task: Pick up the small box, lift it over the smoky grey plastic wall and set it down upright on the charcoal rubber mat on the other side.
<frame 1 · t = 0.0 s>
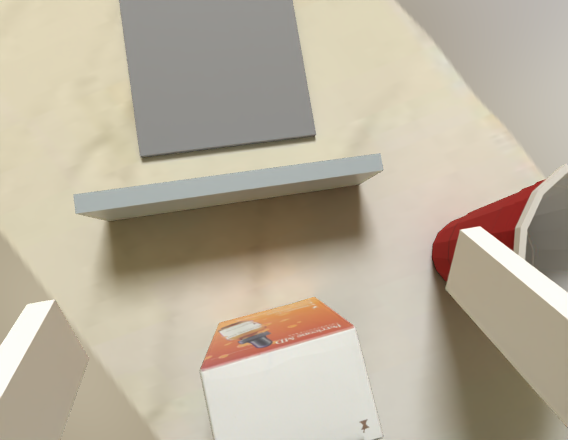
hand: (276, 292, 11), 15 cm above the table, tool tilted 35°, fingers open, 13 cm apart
plastic cup: (462, 256, 29), on the table
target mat: (218, 64, 28), on the table
small box: (274, 343, 26), on the table
low wall: (238, 194, 27), on the table
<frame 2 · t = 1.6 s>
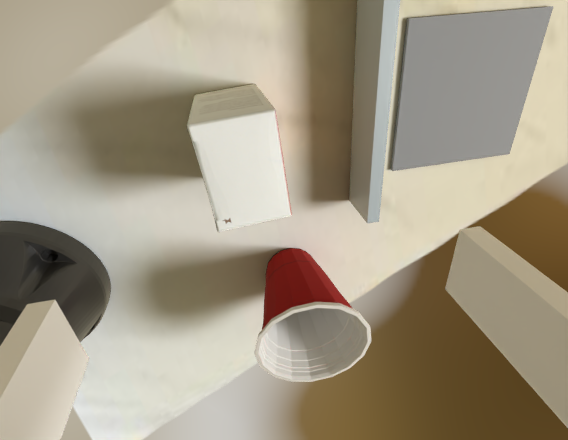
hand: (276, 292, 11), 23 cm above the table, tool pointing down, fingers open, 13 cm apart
plastic cup: (287, 266, 40), on the table
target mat: (463, 94, 33), on the table
small box: (234, 131, 31), on the table
low wall: (358, 107, 32), on the table
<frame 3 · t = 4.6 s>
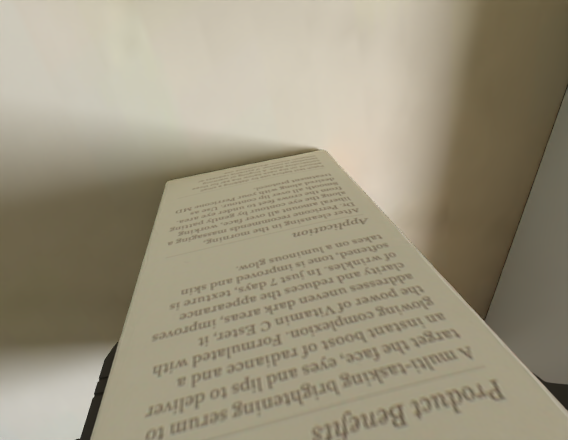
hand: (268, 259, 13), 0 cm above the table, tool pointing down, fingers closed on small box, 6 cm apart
small box: (265, 250, 13), on the table, touching gripper
low wall: (543, 188, 14), on the table
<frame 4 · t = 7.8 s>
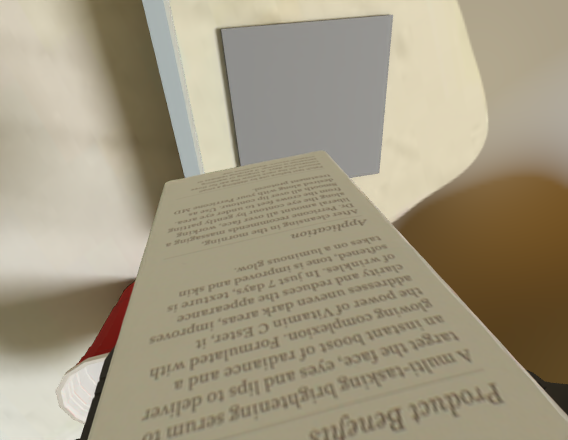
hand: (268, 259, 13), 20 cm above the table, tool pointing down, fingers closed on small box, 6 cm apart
plastic cup: (149, 297, 37), on the table
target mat: (311, 111, 30), on the table
small box: (264, 251, 13), point 19 cm above the table, touching gripper
low wall: (187, 126, 29), on the table
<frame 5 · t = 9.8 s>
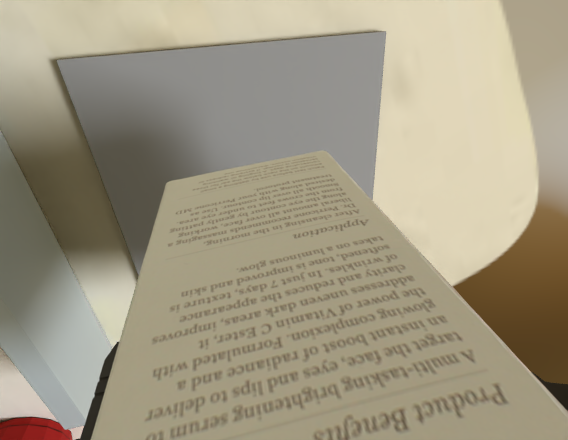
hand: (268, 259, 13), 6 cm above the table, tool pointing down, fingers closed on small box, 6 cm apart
plastic cup: (28, 437, 25), on the table
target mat: (250, 188, 18), on the table
small box: (265, 251, 13), point 6 cm above the table, touching gripper
low wall: (32, 219, 17), on the table
when the fingers open (2 cm above the table, at t = 11.3 s): small box drops 2 cm, resting on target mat.
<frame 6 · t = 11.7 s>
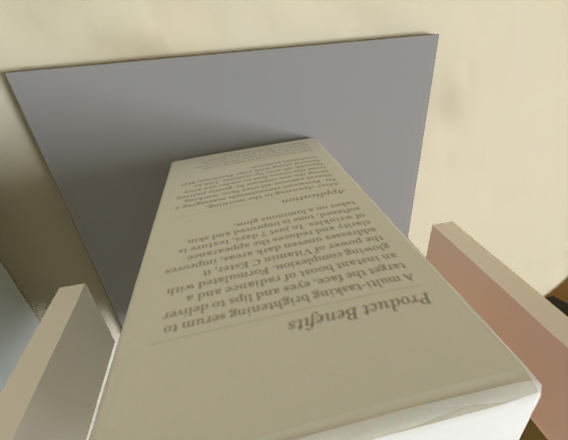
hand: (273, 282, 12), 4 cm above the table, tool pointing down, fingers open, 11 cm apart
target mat: (260, 227, 15), on the table
small box: (259, 230, 15), resting on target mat
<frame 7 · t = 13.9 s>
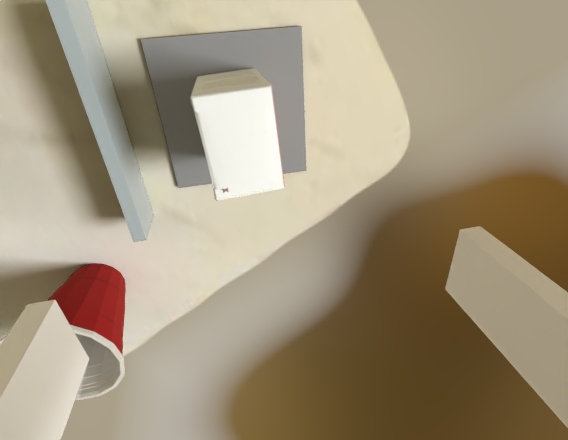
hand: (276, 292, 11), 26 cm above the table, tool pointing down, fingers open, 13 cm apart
plastic cup: (98, 281, 40), on the table
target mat: (234, 112, 33), on the table
small box: (234, 113, 33), resting on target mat
low wall: (119, 125, 32), on the table
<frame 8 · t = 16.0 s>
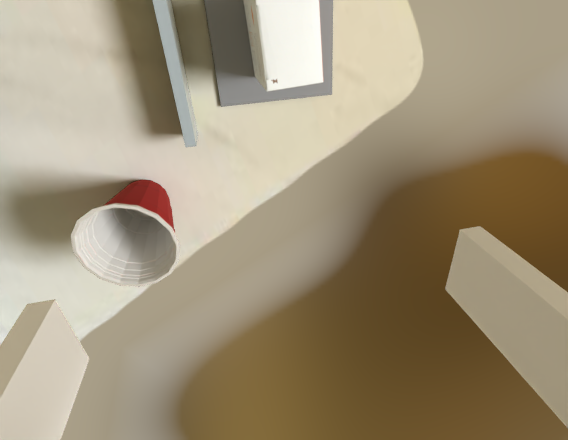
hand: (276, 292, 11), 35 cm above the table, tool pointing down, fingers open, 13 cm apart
plastic cup: (145, 198, 45), on the table
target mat: (272, 36, 38), on the table
small box: (272, 36, 38), resting on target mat
low wall: (174, 44, 37), on the table
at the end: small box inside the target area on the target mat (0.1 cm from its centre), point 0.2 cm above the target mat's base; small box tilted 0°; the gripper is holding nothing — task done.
